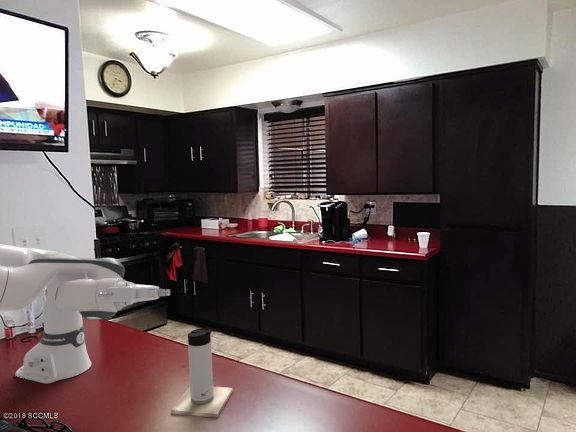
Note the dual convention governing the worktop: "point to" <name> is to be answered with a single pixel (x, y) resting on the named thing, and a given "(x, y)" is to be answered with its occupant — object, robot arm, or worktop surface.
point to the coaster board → (207, 409)
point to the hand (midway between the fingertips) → (163, 292)
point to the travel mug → (200, 366)
